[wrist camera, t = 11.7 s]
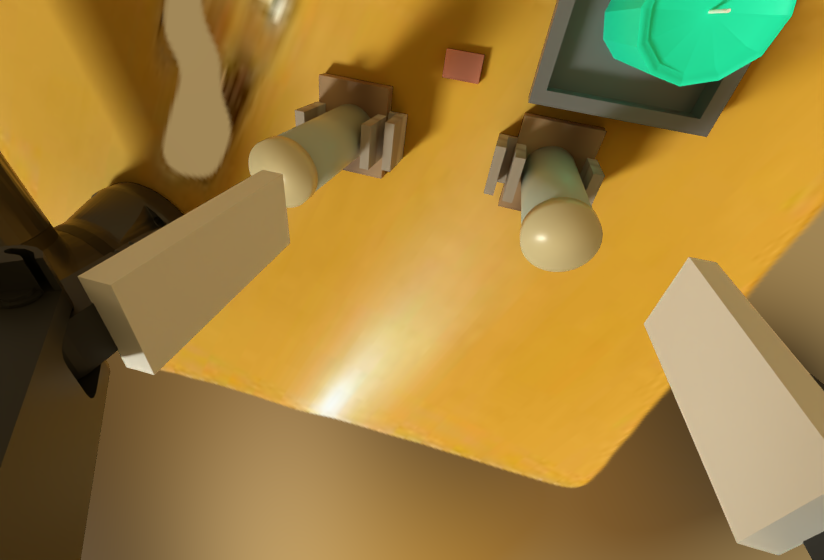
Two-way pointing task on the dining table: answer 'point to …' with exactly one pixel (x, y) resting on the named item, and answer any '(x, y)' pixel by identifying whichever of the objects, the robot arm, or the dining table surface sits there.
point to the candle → (692, 35)
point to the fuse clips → (580, 140)
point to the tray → (617, 78)
